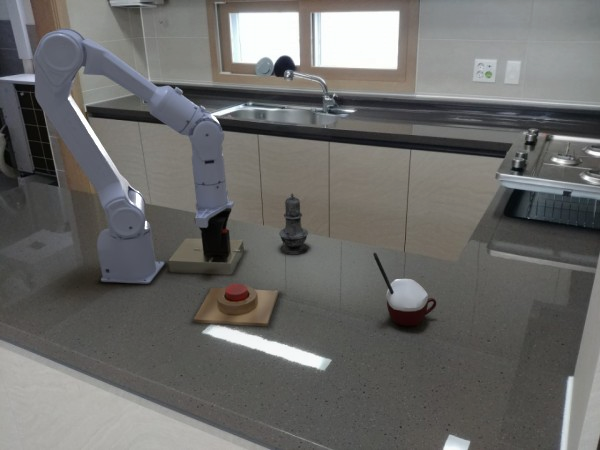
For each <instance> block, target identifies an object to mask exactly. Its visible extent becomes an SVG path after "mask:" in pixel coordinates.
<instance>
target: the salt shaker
mask: <svg viewBox="0 0 600 450" xmlns="http://www.w3.org/2000/svg"><path fill="white" fill-rule="evenodd" d="M284 205H285V207H284V208H285V213H284V214H283V217H284V219H285V227H284V228H282V229H280V230H279V232H278V235H279V236H280V239H281V241H282V243H283V245H282V246H281V249H280V250H281V252H282V253H284V254H287V255H300V254H304V253H305V252H307V250H308V246H307V245H306V244H305V243H306V241H307V237H308V235H309V230H308V229H307V228H304V227H303V226H302V220H301V219H302V216H303V214H302V212H301V200H299V198H298V197H295V194H294V193H291V194H290V196H289V197H287V198H286V199H285V201H284Z"/></svg>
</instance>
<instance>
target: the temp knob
mask: <svg viewBox="0 0 600 450" xmlns="http://www.w3.org/2000/svg"><path fill="white" fill-rule="evenodd" d="M200 236H201V239H202V245H203V252H227V253H228V252H229V250H230V249H231V247H230V240H231V238H230V229H228V228H226V229H222V243H221V249H220V251H212V250H209V248H208V246H207V243H206V240H205V238H204V235H203V233H202V232H201V231H200Z"/></svg>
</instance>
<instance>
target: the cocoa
mask: <svg viewBox="0 0 600 450" xmlns="http://www.w3.org/2000/svg"><path fill="white" fill-rule="evenodd" d="M373 258H374V260H375V262H376V264H377V267H378V269H379V271H380V273H381V276H382V277H383V280H384V282H385V284H386V286H387V291H386V296H385V297H386V309H387V311H388V314H389V317H390V319H391V320H392V321H393V322H394V323H396V324H397V325H399V326H403V327H413V326H417V325H419V324H420V323H422V321H423V320H424V319H425V317H426V316H427V315H429V314H430V313H431V312H433V310H434V309H435V308H436V306H437V301H436V299H435V298H433V297H430V298H429V294H428V293H427V291H426V290H425V288H424V287H423V286H422V285H421V284H419V283H418V282H417V281H416V280H414V279H410V278H397V279H394V280H393V281H392V282H390V280H389V278H388V276H387V274H386V272H385V269H384V267H383V264H382V263H381V261H380V258H379V255H378V254H377V253H376V252H373ZM431 302H432V305H431V306H430V307H429V308H428V305H429V303H431Z"/></svg>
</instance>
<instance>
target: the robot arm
mask: <svg viewBox="0 0 600 450" xmlns="http://www.w3.org/2000/svg"><path fill="white" fill-rule="evenodd" d="M32 60H33V65H34V96H35V99H36V101H37V103H38V105H39V106H40V108H41V110H42V111H43V112H44V114H45V115H46V117H47V118H48V120H49V121H50V123H51V125H52V126H53V128H54V129H55V130H56V132H57V134H58V135H59V137H60V138H61V140H62V142H64V144H65V146H66V148H67V149H68V150H69V152H70V153H71V155H72V157H73V158H74V159H75V161H76V162H77V164H78V165H79V167H80V169H81V170H82V172H84V174H85V176H86V178H87V179H88V181H89V183H91V185H92V187H93V188H94V189H95V191H96V194H97V196H98V199H99V202H100V205H101V208H102V210H103V211H104V212H105V214H106V218H107V219H106V220H107V226H108V228H104V229H102V230H101V232H100V233H99V234H98V237H97V242H96V249H97V250H96V251H97V255H98V260H99V266H100V271H101V276H102V277H101V278H100V282H102V283H121V284H122V283H123V284H142V285H148V284H151V282H152V281H153V280H154V278H155V277H157V275H158V274H159V273H160V271H161V270H162V268H163V267H164V266H165V264H166V263H165V262H164V261H157V260H156V255H155V247H154V241H153V234H152V228H151V224H150V223H149V222H148V221H147V219H146V213H145V212H146V211H145V209H146V201H145V197H144V195H143V194H142V193H141V192H140V191H138V190H137V189H135V188H134V187H133V186H131V184H130V182H129V181H128V180H127V178H125V177H124V176H123V175H122V174H121V173H120V171H119V170H118V168H117V166H116V165H115V163H114V161H113V160H112V159H111V157H110V155H109V154H108V152H107V151H106V149H105V147H104V146H103V144H102V143H101V141H100V139H99V138H98V136H97V135H96V133H95V131H94V130H93V128H92V127H91V125H90V124H89V122H88V120H87V119H86V117H85V115H84V114H83V112H82V111H81V109H80V107H79V105H78V104H77V102H76V101H75V99H74V98H73V96H72V91H73V87H74V83H75V81H76V76H77V74H78V72H79V71H80V70H81V68H82V67H84V69H83V73H82V74H83V75H88V76H89V75H92V76H94V75H95V76H103V77H106V78H107V79H109V80H110V81H112V82H114V83H115V84H117V85H119V86H120V87H121V88H123V89H125V90H126V91H128V92H130V93H131V94H133V95H134V96H136V97H138V98H139V99H140V100H142V101H144V102H146V103H147V107H148V112H149V114H150V115H151V116H153V117H154V118H156V119H157V120H159V121H160V122H161V123H163V124H165V125H166V126H167V127H169V128H171V129H172V130H174V131H175V132H177V134H180V135H181V136H187V137H189V141H190V143H191V151H192V155H191V165H192V173H193V183H194V184H193V185H194V192H195V201H196V202H195V212H196V215H195V217H194V224H195V228H199V230H200V233H201V232H202V233H203V235H204V238H205V240H206V243H207V246H208V248H209V250H212V251H220V249H221V243H222V229H227V225H228V221H229V217H230V215H231V213H232V209H233V208H234V206H235V202H234V200H229V193H228V192H229V191H228V188H227V180H226V168H225V157H224V153H223V143H224V139H225V133H224V131H223V128H222V126H221V124H220V122H219V120H218V119H217V118H216V117H215V115H213V114H212V112H211V111H208V110H207V109H206V107H205V106H203V105H200V106H198V105H197V104H195V103H194V102H193V101H191V100H190V99H188V98H187V97H186V96H184V95H183V93H184V91H183V90H182V89H181V88H179V87H177V86H175V88H173V87H171V86H170V85H164V86H157V85H156V84H154V83H153V82H152V81H150V80H149V79H148V78H147V77H145V76H143V75H142V74H141V73H139V72H138V71H137V70H135V69H134V68H133V67H132V66H130V65H129V64H127V63H126V62H125V61H123V60H122V59H121V58H119V57H118V56H117V55H115V53H113V52H111V51H110V50H108V49H107V48H106V47H105V46H102V45H101V44H99V43H97V42H96V41H94V40H92V39H91V38H88V37H87V38H85V37H84V36H83V35H82V34H81V33H80V32H78V31H77V30H75V29H73V28H69V27H61V28H58V29H55V30H53V31H51V32H48V33H46V34H44V35H43V36H42V38H40V40H39V43H38V44H37V47H36V49H35V52H34V54H33V58H32Z"/></svg>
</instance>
